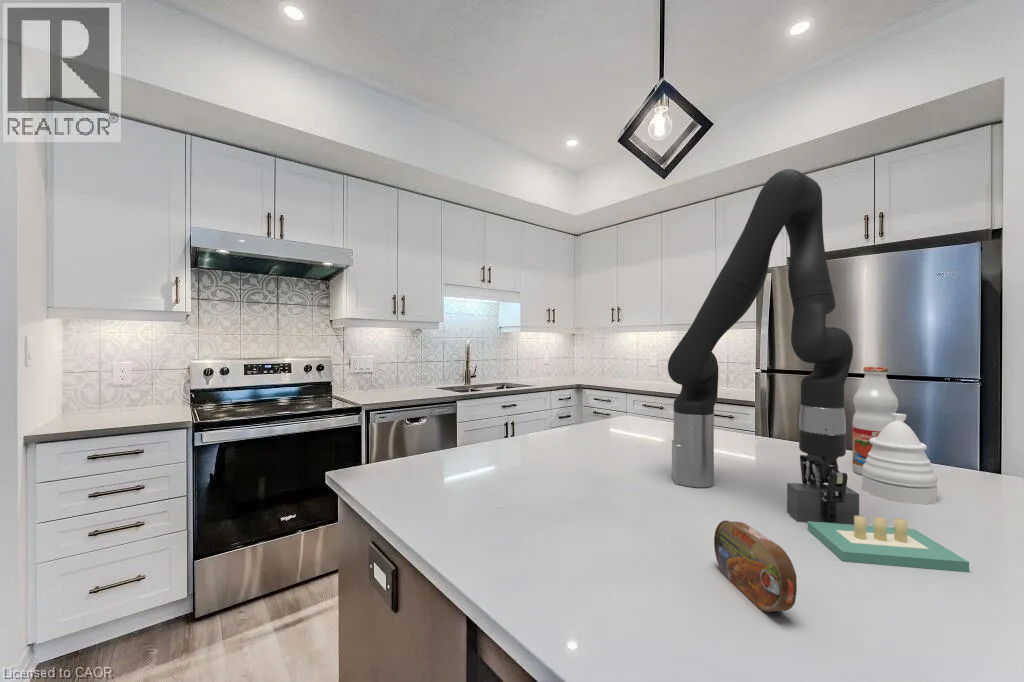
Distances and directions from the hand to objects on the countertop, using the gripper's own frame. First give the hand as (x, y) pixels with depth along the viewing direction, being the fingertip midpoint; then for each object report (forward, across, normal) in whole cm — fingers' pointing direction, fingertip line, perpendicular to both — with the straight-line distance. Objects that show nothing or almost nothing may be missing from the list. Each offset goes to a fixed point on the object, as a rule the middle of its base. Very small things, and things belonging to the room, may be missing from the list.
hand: (821, 515), depth 87 cm
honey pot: (+1, -19, +24) cm, 31 cm away
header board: (+1, +12, +4) cm, 13 cm away
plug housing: (+1, 0, 0) cm, 1 cm away
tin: (+1, +30, -22) cm, 37 cm away
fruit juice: (+1, -35, +28) cm, 45 cm away
